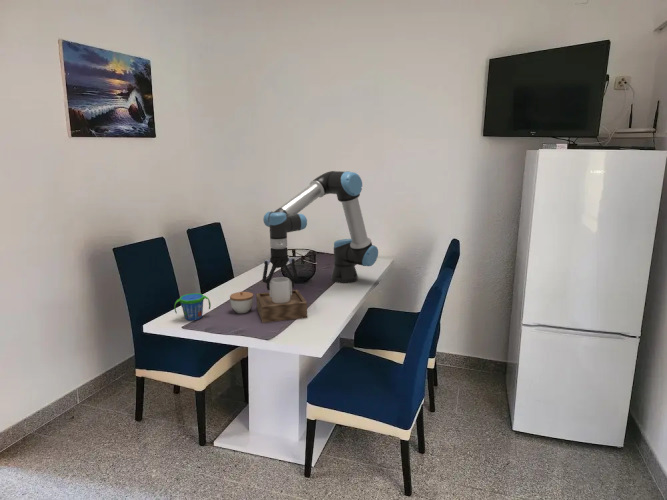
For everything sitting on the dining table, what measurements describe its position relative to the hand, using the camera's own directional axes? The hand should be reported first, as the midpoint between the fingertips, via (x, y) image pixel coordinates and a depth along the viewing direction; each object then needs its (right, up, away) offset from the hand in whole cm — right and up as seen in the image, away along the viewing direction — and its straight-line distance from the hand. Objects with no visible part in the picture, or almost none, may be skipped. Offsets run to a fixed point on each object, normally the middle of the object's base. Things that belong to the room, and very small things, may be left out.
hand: (280, 295), depth 221 cm
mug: (+1, -2, +1) cm, 3 cm away
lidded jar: (-18, -8, +5) cm, 21 cm away
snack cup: (-39, -10, -4) cm, 40 cm away
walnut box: (0, -8, +2) cm, 8 cm away
